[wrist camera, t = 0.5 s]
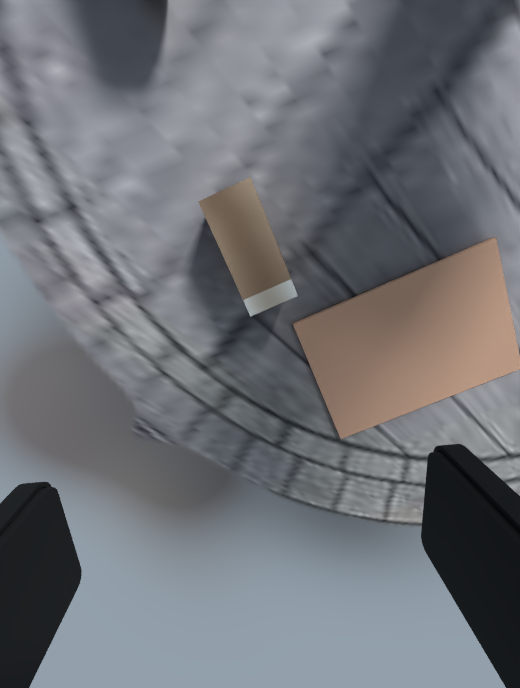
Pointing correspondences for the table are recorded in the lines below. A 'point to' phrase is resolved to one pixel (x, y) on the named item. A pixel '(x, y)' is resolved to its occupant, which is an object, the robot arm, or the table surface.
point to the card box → (248, 246)
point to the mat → (413, 340)
